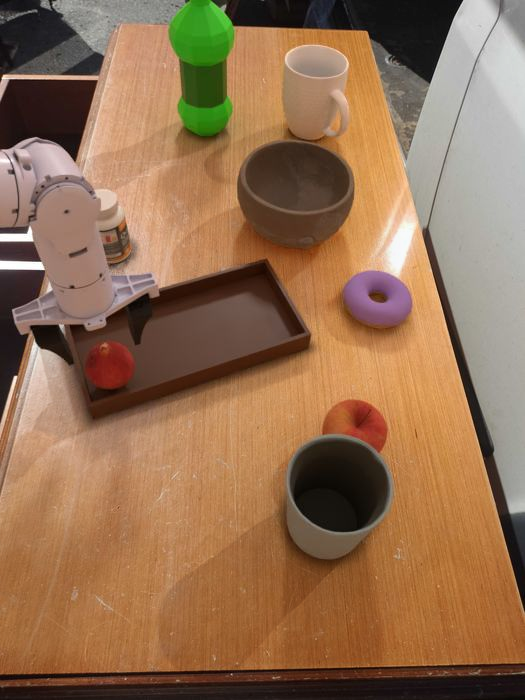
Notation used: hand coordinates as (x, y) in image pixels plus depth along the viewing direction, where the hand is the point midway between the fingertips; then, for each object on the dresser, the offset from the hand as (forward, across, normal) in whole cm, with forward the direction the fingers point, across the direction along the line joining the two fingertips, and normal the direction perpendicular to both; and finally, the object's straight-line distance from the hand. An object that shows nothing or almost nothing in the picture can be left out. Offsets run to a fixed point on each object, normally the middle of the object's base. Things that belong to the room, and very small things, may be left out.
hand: (103, 348), depth 65 cm
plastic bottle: (+8, +30, +48) cm, 57 cm away
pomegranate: (+8, 0, 0) cm, 8 cm away
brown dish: (+8, +11, +3) cm, 14 cm away
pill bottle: (+8, +6, +23) cm, 25 cm away
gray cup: (+8, +17, -26) cm, 32 cm away
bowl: (+8, +34, +19) cm, 40 cm away
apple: (+8, +24, -19) cm, 31 cm away
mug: (+8, +48, +40) cm, 63 cm away
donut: (+8, +38, -1) cm, 39 cm away
